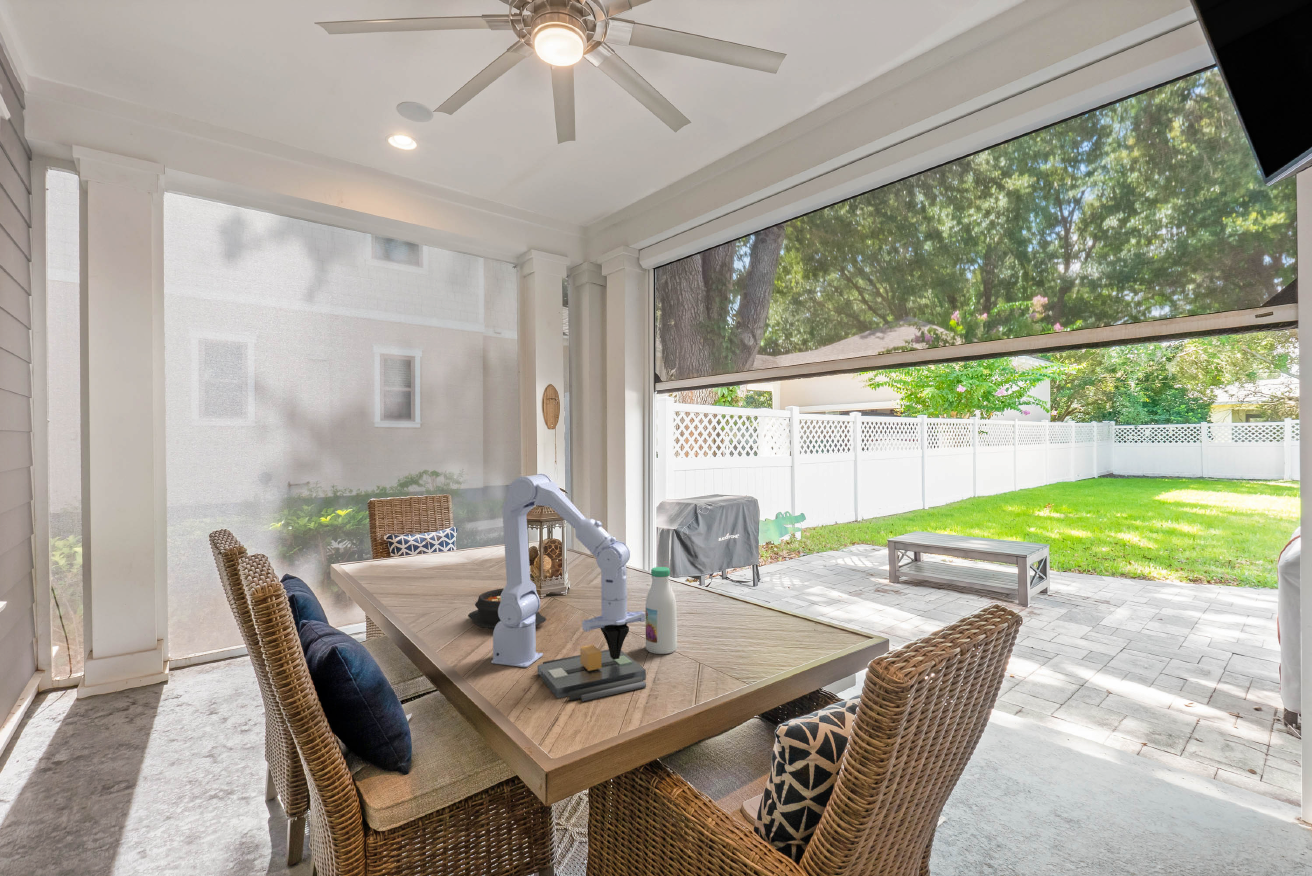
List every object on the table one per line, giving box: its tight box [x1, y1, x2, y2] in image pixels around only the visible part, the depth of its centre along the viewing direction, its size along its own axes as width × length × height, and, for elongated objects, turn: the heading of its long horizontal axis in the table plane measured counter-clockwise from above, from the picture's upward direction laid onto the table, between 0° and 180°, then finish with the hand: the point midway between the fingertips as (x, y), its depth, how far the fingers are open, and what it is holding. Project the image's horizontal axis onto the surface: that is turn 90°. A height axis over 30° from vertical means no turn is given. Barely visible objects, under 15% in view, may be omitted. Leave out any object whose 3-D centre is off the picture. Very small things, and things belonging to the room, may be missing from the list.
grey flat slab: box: [537, 650, 647, 700], centre depth 131 cm, size 20×14×2 cm
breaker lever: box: [579, 644, 602, 671], centre depth 131 cm, size 3×5×4 cm, turn 27°
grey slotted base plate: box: [542, 649, 647, 703], centre depth 130 cm, size 16×21×2 cm
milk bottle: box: [644, 566, 678, 655], centre depth 147 cm, size 8×8×20 cm
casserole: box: [467, 587, 547, 630], centre depth 168 cm, size 25×19×8 cm
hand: (614, 657), depth 134 cm, fingers closed
